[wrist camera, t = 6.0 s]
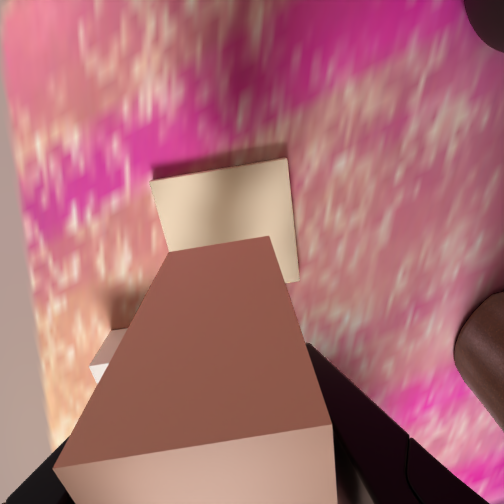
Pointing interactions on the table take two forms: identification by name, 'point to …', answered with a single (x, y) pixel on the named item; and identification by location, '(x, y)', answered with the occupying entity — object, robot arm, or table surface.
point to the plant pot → (484, 355)
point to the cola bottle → (487, 21)
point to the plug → (207, 394)
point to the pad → (230, 209)
